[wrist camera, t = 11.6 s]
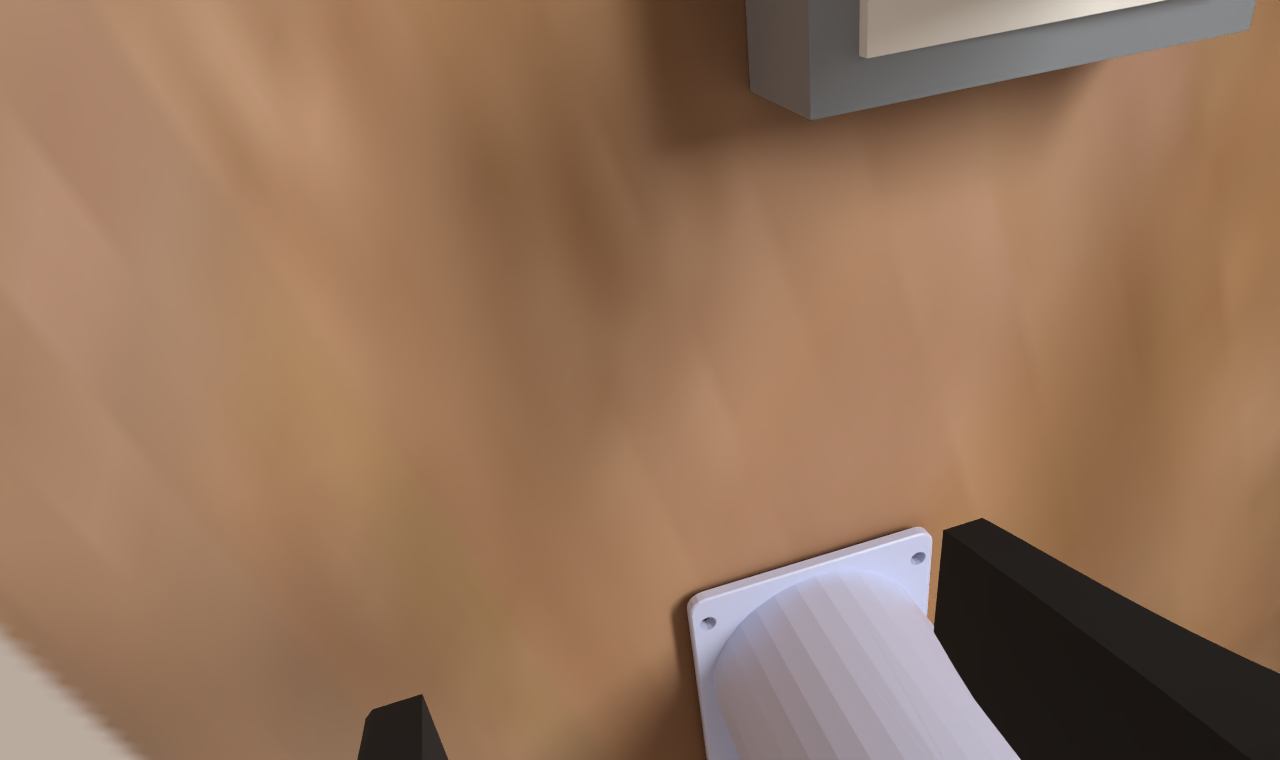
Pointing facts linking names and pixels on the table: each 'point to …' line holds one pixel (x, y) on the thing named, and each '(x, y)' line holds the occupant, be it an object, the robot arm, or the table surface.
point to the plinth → (952, 43)
